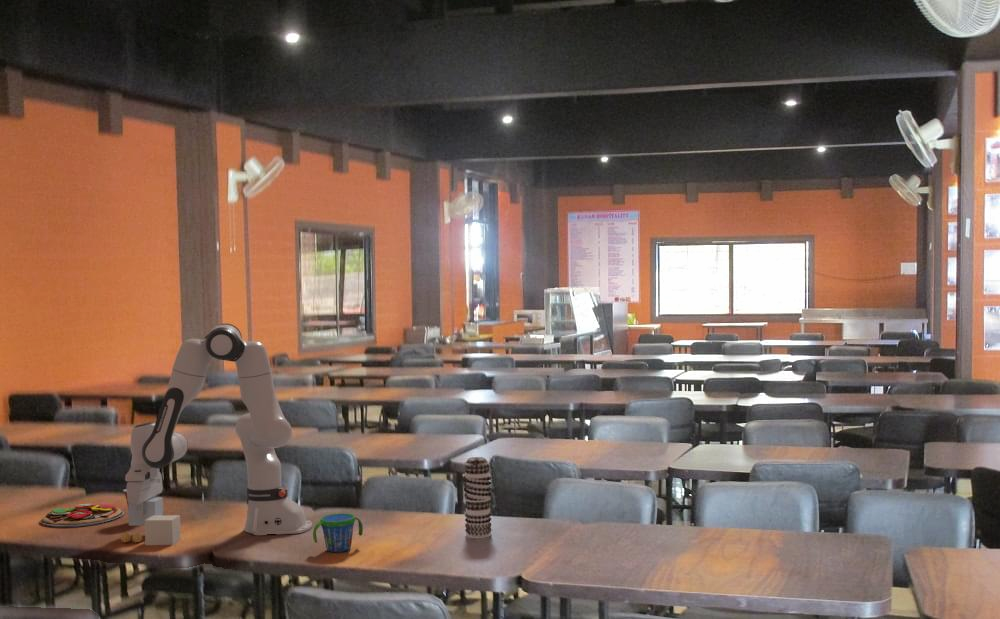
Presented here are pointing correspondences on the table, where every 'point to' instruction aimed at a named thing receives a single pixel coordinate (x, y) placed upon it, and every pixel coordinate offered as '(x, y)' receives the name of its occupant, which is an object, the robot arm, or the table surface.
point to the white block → (151, 508)
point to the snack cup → (337, 531)
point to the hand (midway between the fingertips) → (146, 512)
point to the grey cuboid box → (162, 530)
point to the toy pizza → (82, 515)
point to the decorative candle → (477, 498)
